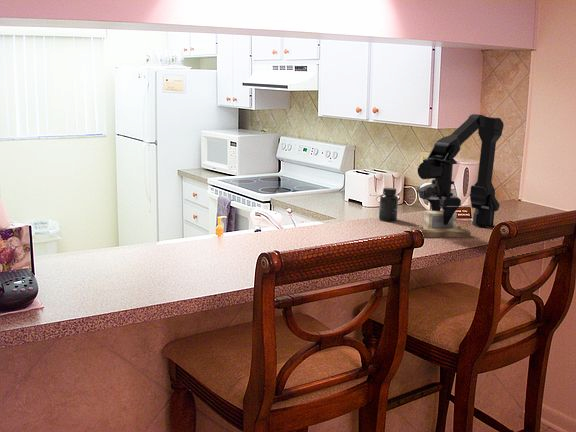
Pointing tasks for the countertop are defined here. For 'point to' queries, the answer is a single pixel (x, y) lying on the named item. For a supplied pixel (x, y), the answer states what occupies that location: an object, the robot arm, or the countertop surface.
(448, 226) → the ash frame block
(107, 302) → the countertop surface
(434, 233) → the notched ledge
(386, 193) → the supplement bottle
